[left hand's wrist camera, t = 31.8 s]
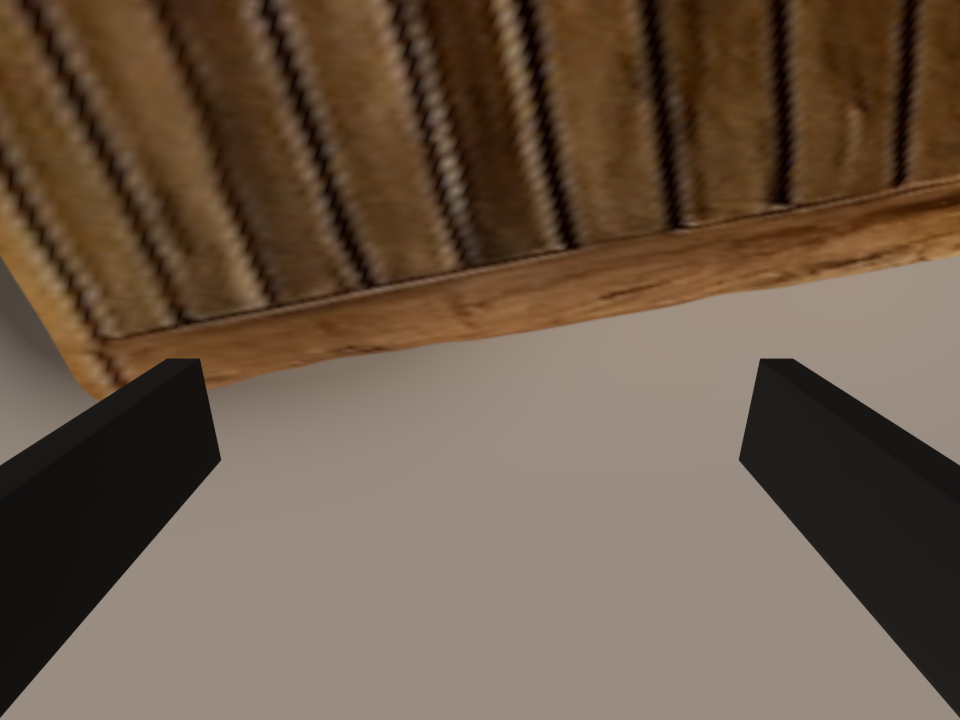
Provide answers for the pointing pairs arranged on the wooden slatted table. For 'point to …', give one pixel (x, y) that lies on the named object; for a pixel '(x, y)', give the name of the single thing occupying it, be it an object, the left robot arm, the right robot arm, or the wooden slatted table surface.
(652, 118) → the wooden slatted table surface
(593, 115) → the wooden slatted table surface
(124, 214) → the wooden slatted table surface
